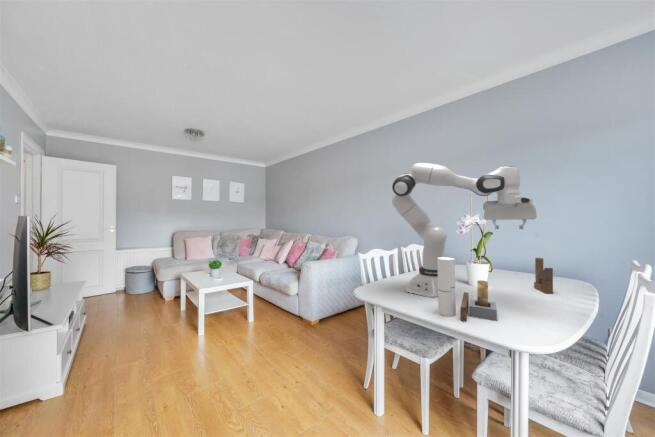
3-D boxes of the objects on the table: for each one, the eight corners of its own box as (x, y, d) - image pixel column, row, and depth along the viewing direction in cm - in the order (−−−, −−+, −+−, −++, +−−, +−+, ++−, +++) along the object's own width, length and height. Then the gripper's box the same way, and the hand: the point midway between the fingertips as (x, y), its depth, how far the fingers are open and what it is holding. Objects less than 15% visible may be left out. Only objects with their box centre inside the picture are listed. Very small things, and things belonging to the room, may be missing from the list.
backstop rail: (460, 320, 104) (460, 306, 104) (464, 304, 123) (463, 292, 123) (466, 321, 103) (466, 307, 103) (468, 304, 122) (468, 292, 122)
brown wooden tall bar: (476, 313, 110) (476, 282, 110) (478, 310, 113) (477, 280, 113) (487, 315, 108) (487, 283, 107) (488, 312, 111) (488, 281, 111)
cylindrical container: (459, 315, 110) (458, 259, 110) (446, 317, 108) (445, 260, 108) (447, 309, 117) (446, 256, 117) (434, 311, 115) (433, 257, 115)
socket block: (469, 317, 109) (469, 305, 109) (470, 309, 117) (470, 298, 117) (497, 321, 103) (496, 310, 103) (495, 313, 112) (495, 302, 112)
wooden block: (545, 293, 135) (545, 260, 135) (533, 287, 146) (533, 257, 145) (553, 294, 134) (553, 261, 134) (541, 288, 145) (540, 257, 144)
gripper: (482, 201, 121) (483, 229, 121) (537, 198, 110) (537, 229, 110) (482, 201, 126) (483, 228, 126) (534, 199, 115) (534, 229, 116)
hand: (508, 229), depth 118 cm, fingers open, 8 cm apart
